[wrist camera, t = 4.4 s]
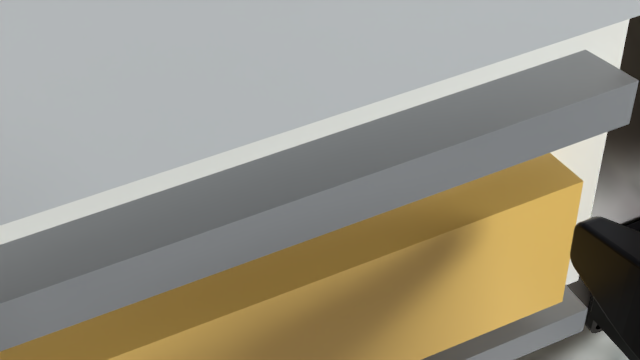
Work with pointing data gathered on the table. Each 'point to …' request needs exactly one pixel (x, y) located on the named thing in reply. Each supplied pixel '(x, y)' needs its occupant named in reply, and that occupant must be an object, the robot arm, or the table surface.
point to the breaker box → (325, 192)
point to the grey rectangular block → (227, 75)
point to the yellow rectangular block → (362, 284)
